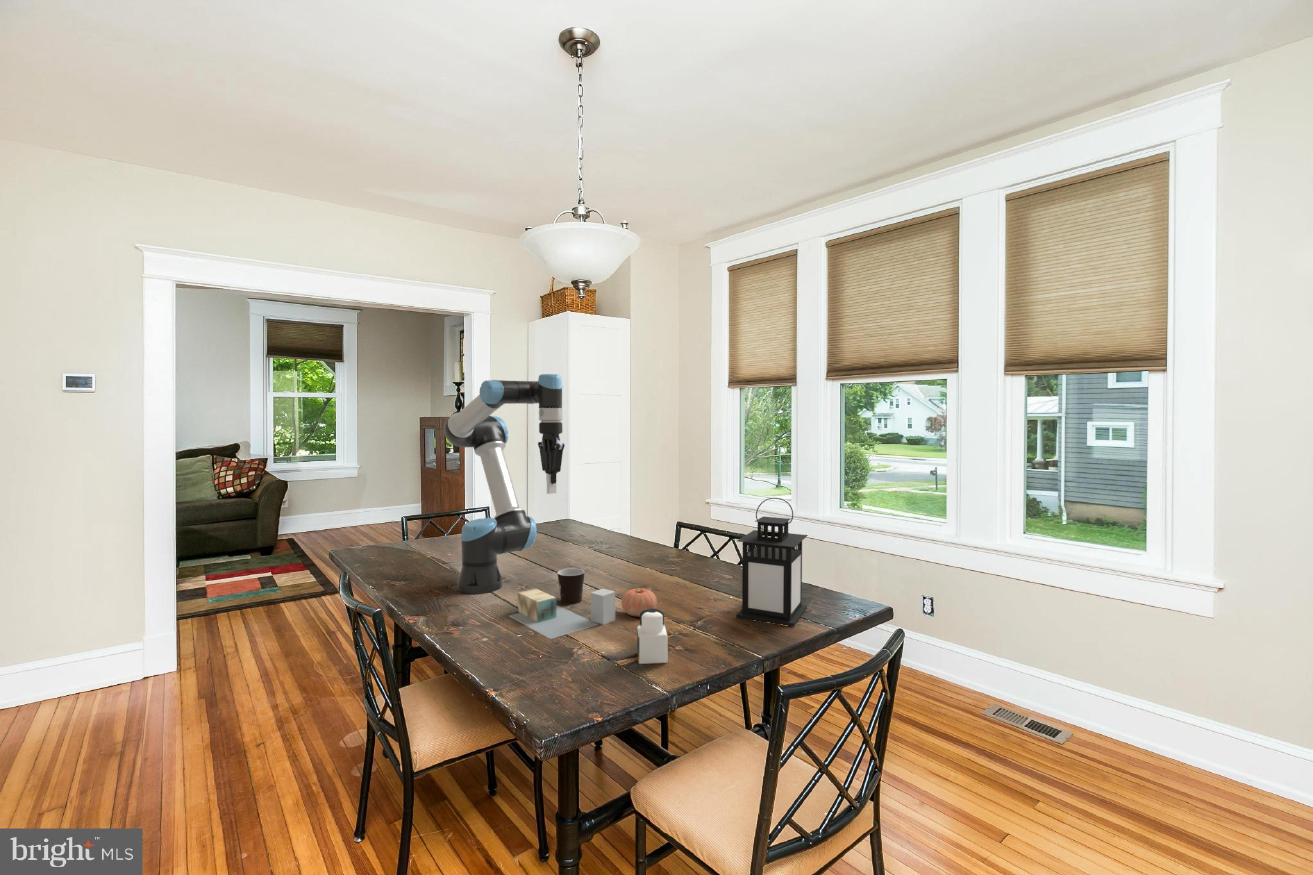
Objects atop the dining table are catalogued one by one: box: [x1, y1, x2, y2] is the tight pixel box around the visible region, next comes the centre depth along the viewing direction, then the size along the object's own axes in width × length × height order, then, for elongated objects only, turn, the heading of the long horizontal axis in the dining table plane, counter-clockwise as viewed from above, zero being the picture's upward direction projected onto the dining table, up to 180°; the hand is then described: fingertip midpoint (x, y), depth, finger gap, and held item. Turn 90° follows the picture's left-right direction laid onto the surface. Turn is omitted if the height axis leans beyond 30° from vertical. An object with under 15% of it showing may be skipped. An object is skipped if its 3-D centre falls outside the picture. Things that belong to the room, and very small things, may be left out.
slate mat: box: [508, 604, 600, 640], centre depth 178 cm, size 24×16×1 cm, turn 41°
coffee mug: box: [557, 567, 586, 605], centre depth 197 cm, size 12×9×10 cm
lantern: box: [735, 497, 809, 627], centre depth 184 cm, size 17×17×35 cm
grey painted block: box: [590, 588, 616, 625], centre depth 178 cm, size 5×5×9 cm
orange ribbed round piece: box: [620, 587, 658, 618], centre depth 184 cm, size 11×11×8 cm
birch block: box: [517, 587, 557, 622], centre depth 183 cm, size 6×6×12 cm
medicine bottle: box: [636, 608, 669, 665], centre depth 153 cm, size 7×7×12 cm
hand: (551, 493), depth 201 cm, fingers closed
